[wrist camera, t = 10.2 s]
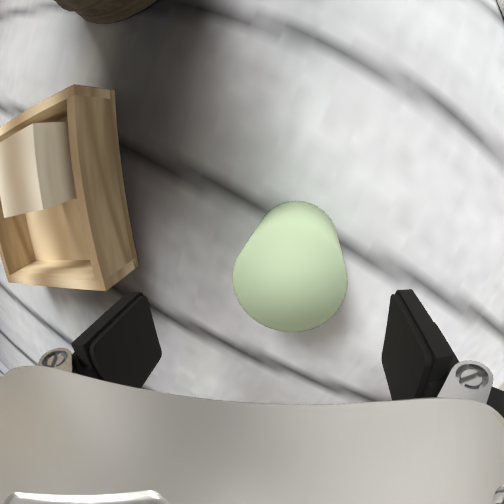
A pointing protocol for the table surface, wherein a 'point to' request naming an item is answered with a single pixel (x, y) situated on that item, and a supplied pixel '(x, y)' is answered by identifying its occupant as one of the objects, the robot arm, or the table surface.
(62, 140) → the cream block
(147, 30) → the table surface
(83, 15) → the beer stein
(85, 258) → the box
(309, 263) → the green cylinder
